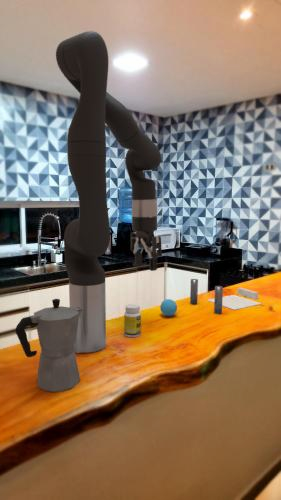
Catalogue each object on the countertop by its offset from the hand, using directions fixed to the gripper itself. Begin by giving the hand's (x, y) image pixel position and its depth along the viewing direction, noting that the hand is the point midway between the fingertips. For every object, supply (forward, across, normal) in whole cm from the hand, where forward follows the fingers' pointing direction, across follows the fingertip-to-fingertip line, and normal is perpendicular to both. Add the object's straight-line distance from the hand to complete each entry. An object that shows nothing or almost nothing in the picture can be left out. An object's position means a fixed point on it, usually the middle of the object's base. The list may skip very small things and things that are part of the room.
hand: (145, 267), depth 112 cm
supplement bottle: (+17, +7, -9) cm, 21 cm away
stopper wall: (+19, -5, +49) cm, 53 cm away
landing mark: (+19, -2, +39) cm, 43 cm away
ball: (+15, -1, +9) cm, 17 cm away
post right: (+18, +5, +25) cm, 31 cm away
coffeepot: (+16, +23, -37) cm, 46 cm away
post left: (+18, -8, +25) cm, 32 cm away
